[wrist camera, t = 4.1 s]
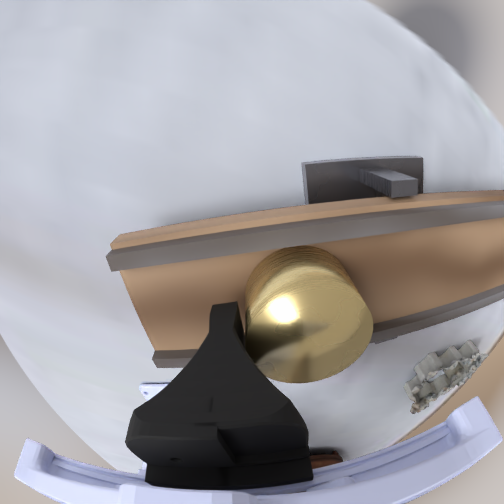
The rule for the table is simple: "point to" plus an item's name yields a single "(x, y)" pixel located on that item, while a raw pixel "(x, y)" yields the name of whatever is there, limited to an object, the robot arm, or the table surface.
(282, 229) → the beam
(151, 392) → the robot arm
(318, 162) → the pivot bracket
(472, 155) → the table surface
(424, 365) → the egg carton
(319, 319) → the brass weight
